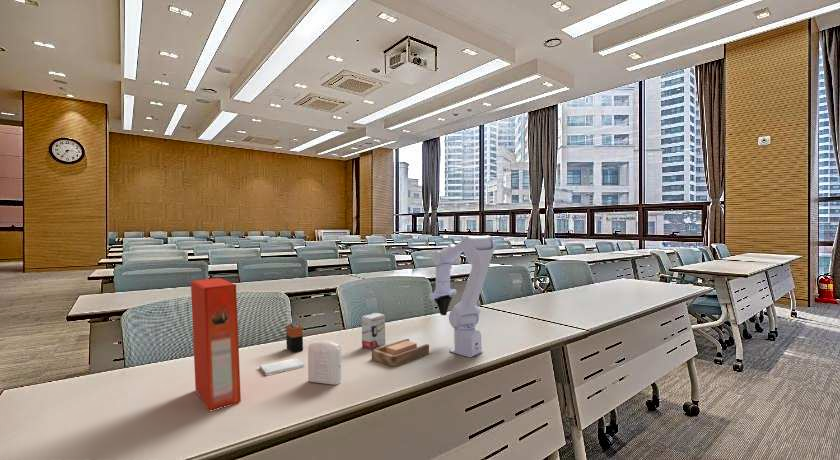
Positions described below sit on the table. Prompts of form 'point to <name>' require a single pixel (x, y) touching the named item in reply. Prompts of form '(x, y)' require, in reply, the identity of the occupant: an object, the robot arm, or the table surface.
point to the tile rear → (409, 345)
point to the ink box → (373, 330)
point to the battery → (294, 337)
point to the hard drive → (281, 366)
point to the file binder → (216, 342)
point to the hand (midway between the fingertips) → (443, 314)
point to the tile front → (396, 349)
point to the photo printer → (324, 362)
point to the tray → (394, 360)
